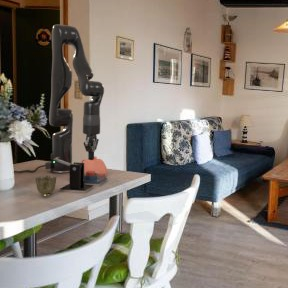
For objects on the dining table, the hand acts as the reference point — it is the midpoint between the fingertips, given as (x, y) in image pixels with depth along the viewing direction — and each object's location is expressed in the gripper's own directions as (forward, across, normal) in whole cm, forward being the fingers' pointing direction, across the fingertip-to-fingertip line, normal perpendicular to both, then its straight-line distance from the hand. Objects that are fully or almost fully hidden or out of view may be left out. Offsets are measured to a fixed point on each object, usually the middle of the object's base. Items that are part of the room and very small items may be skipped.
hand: (91, 159), depth 178 cm
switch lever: (+1, +13, -6) cm, 15 cm away
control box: (+11, 0, 0) cm, 11 cm away
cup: (+11, +26, -8) cm, 30 cm away
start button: (+8, 0, 0) cm, 8 cm away
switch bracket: (+11, +14, -1) cm, 17 cm away
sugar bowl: (+12, -12, -4) cm, 17 cm away
